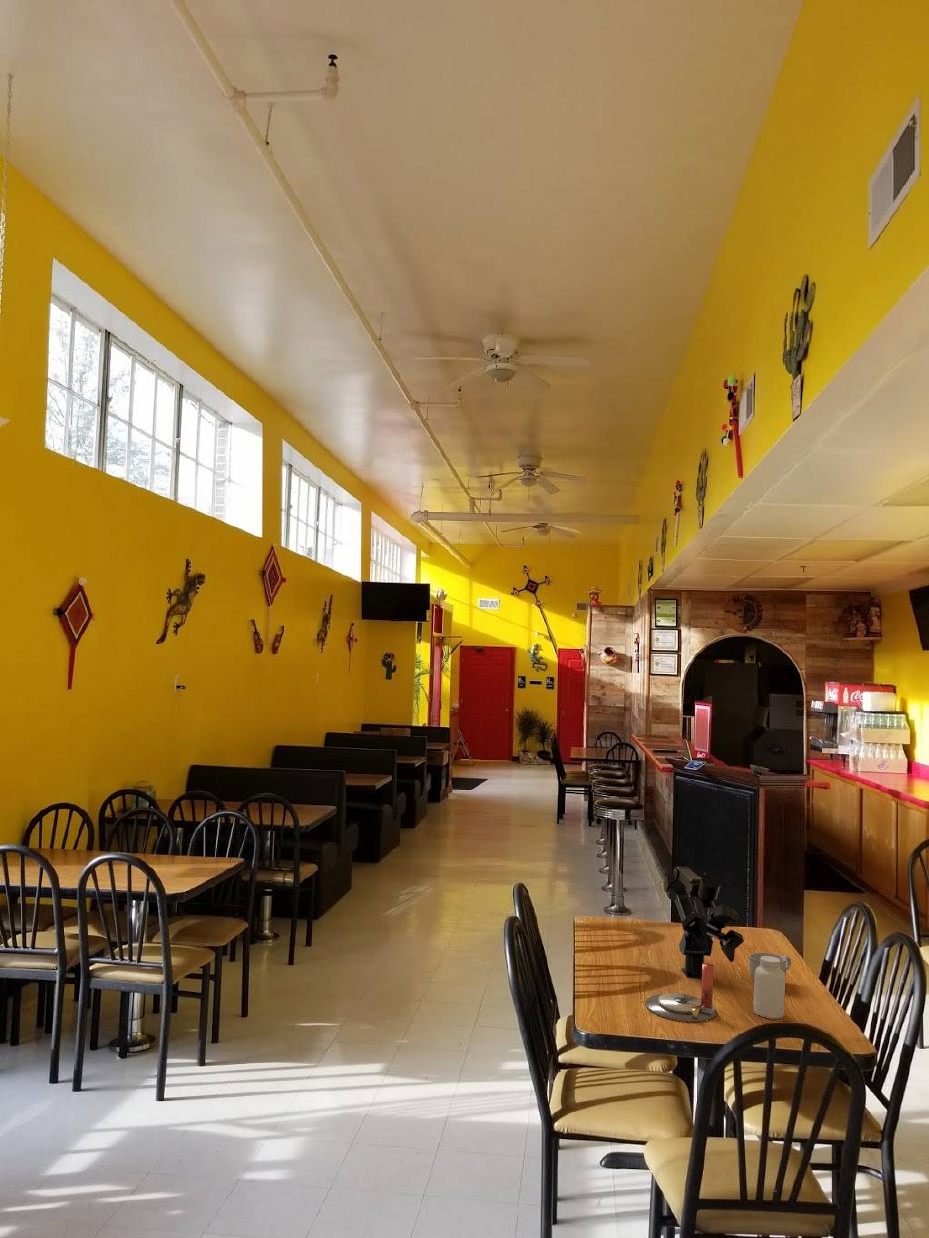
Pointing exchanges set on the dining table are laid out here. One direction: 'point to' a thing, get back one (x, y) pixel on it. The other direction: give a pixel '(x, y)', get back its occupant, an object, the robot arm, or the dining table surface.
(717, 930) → the robot arm
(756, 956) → the teacup
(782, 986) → the pill bottle
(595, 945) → the dining table surface
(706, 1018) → the post plate
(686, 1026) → the dining table surface
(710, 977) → the flange
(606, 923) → the dining table surface
